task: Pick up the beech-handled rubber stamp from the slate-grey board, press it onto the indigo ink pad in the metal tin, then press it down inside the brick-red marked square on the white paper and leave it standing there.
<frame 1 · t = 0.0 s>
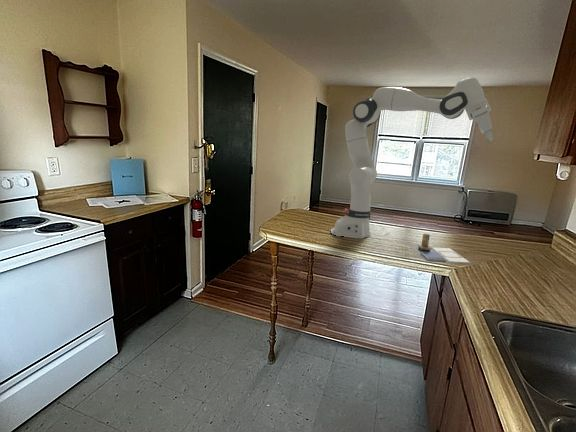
hand: (491, 140, 140), 54 cm above the countertop, tool tilted 30°, fingers open, 8 cm apart
stamping board: (438, 256, 148), on the countertop
stamp: (424, 250, 152), point 1 cm above the countertop, touching stamping board
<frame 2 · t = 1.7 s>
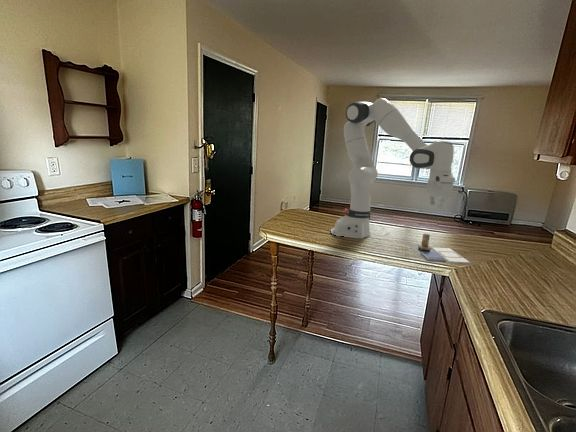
hand: (436, 206, 146), 23 cm above the countertop, tool pointing down, fingers open, 8 cm apart
nothing on the countertop moved.
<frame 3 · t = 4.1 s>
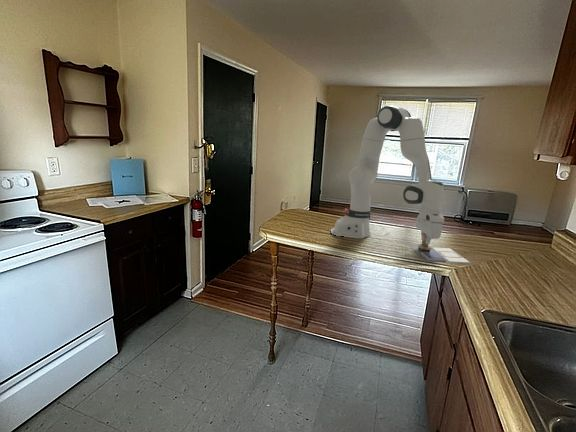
hand: (425, 242, 151), 5 cm above the countertop, tool pointing down, fingers closed on stamp, 3 cm apart
stamp: (424, 250, 152), point 1 cm above the countertop, touching gripper, stamping board
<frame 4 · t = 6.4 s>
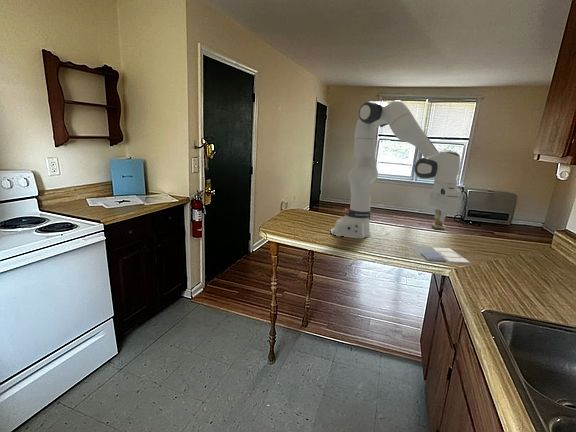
hand: (439, 219, 138), 19 cm above the countertop, tool pointing down, fingers closed on stamp, 3 cm apart
stamp: (437, 229, 139), point 15 cm above the countertop, touching gripper
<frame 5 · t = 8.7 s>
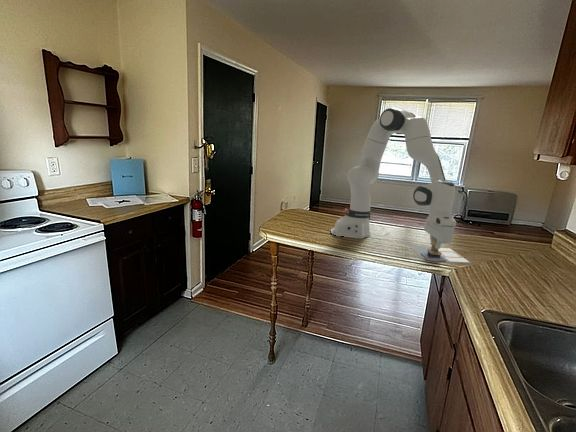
hand: (434, 246, 141), 6 cm above the countertop, tool pointing down, fingers closed on stamp, 3 cm apart
stamp: (433, 255, 142), point 2 cm above the countertop, touching gripper, stamping board
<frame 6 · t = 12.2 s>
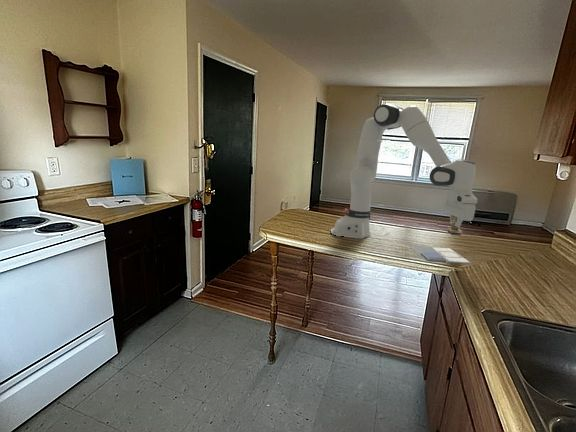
hand: (454, 225, 144), 15 cm above the countertop, tool pointing down, fingers closed on stamp, 3 cm apart
stamp: (453, 233, 145), point 12 cm above the countertop, touching gripper
when the fingers open (5 cm above the countertop, at t = 15.5 s): stamp stays where it is, resting on stamping board.
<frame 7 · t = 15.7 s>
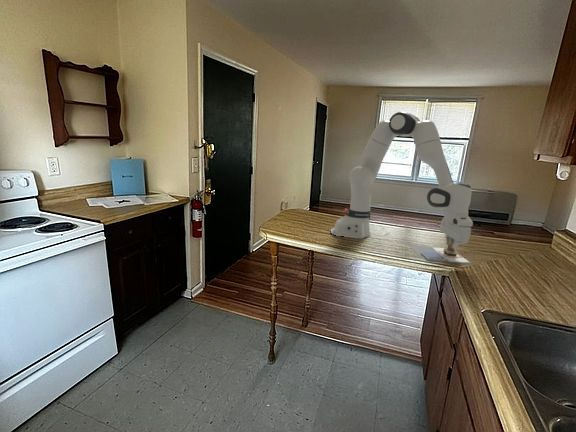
hand: (451, 246, 146), 5 cm above the countertop, tool pointing down, fingers open, 4 cm apart
stamp: (449, 254, 147), point 1 cm above the countertop, touching stamping board
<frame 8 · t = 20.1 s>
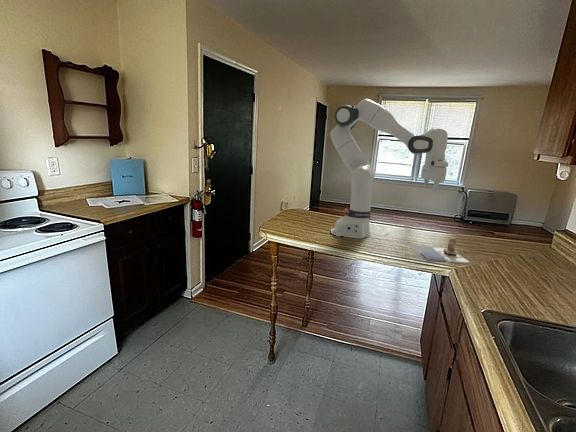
hand: (430, 189, 160), 29 cm above the countertop, tool pointing down, fingers open, 8 cm apart
nothing on the countertop moved.
at the end: stamp 0.1 cm from the target spot on the stamping board, point 1.4 cm above the stamping board's base; stamp tilted 0°; the gripper is holding nothing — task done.
